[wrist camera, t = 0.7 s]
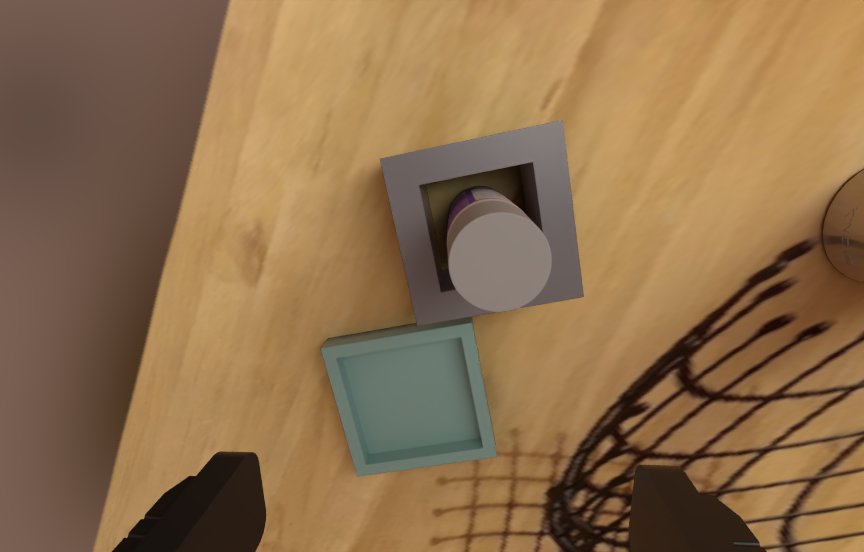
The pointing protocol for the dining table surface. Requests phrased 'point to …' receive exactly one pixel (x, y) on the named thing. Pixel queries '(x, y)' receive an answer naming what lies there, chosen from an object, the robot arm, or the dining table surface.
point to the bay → (526, 147)
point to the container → (495, 251)
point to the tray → (411, 396)
